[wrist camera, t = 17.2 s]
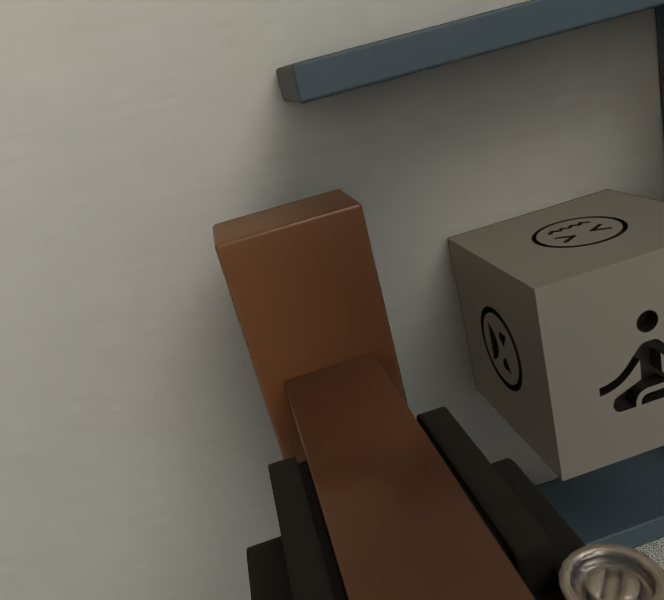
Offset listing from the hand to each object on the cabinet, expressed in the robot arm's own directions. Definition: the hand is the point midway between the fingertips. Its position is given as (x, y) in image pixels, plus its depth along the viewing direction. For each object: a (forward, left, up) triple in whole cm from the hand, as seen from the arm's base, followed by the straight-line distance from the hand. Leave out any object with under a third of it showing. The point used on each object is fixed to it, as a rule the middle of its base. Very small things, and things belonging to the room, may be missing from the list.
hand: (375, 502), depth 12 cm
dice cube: (+7, 0, -7) cm, 10 cm away
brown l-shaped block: (0, 0, -5) cm, 5 cm away
